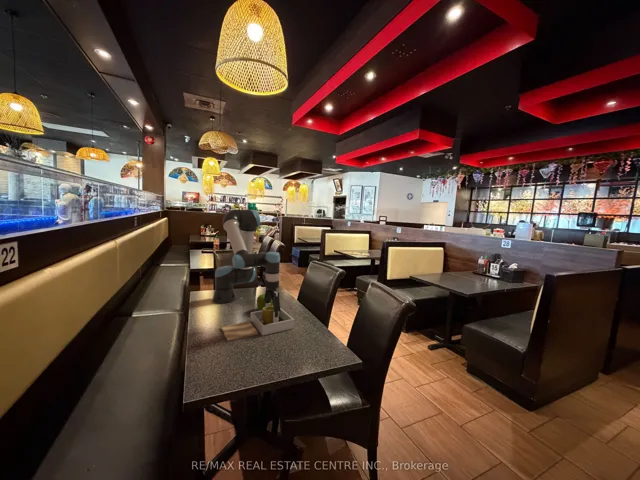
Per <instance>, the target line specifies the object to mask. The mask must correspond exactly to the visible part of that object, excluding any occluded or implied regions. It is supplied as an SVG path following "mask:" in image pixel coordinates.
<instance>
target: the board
mask: <svg viewBox="0 0 640 480" xmlns="http://www.w3.org/2000/svg"><path fill="white" fill-rule="evenodd" d="M220 327H221V331H222V332H223V335H224V337H225V339H226V341H227V342H229V341H235V340H238V339H242V338H247V337H251V336H255V335H258V334H259V331H258V330H257V328H256V327H255V326H254V324H253V323H252V322H251V320H247V321H243V322H237V323H232V324H227V325H223V326H220Z"/></svg>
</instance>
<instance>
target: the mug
mask: <svg viewBox="0 0 640 480" xmlns="http://www.w3.org/2000/svg"><path fill="white" fill-rule="evenodd" d="M273 311H274V308H273V305H272V306H267V307H264V308H263V309H262V319H261V320H262V324H263V325H267V324H271V323H273ZM279 318H280V317H279V311H278V322H280V321H279V320H280V319H279Z"/></svg>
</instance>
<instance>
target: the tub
mask: <svg viewBox="0 0 640 480" xmlns="http://www.w3.org/2000/svg"><path fill="white" fill-rule="evenodd" d="M279 318H281V320H282V321H281V320H280V321H278V322H276V323H271V324H264V323H263V322H261V320H263V319H262V311H260V310H257V311H256V310H255V311H252V312H250V322H251V324H252V325H253V326H254V328H255V329H256V330H257V332H258V333H259V334H260V335H261V336H267V335H271V334H275V333H280V332H283V331H288V330H292V329H295V319H294V318H293V317H292V316H291V315H290V314H289V313H288V312H286V311H285V310H284V309H283V308H281V307H280V311H279Z"/></svg>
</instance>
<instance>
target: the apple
mask: <svg viewBox="0 0 640 480" xmlns="http://www.w3.org/2000/svg"><path fill="white" fill-rule="evenodd" d="M264 298H265V293H262V294H260V295H258V297H257V298H256V306H257V307H256V308H257V311H262V309H263V308H264V307H266V303H265V301H264ZM270 303H271V306H272V305H273V303H272V299H271V302H270Z"/></svg>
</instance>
